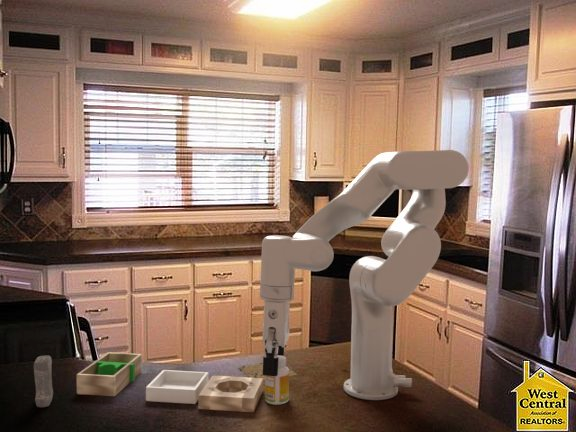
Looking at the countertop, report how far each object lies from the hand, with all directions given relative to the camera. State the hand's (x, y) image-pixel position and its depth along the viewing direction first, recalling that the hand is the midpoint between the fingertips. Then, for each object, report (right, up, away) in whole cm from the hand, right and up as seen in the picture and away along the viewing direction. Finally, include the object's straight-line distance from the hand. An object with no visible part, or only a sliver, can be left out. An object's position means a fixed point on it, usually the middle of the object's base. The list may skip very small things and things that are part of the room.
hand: (273, 368), depth 124 cm
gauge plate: (-9, -7, +1) cm, 12 cm away
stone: (-50, -7, -2) cm, 51 cm away
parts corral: (-39, -6, +10) cm, 41 cm away
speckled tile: (-2, -7, +19) cm, 21 cm away
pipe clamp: (-39, -6, +10) cm, 41 cm away
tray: (-22, -7, +4) cm, 23 cm away
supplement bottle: (+1, -8, +1) cm, 8 cm away
